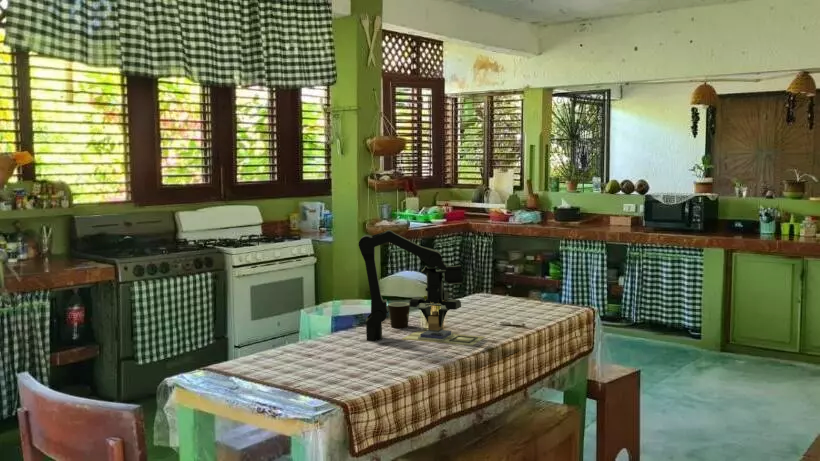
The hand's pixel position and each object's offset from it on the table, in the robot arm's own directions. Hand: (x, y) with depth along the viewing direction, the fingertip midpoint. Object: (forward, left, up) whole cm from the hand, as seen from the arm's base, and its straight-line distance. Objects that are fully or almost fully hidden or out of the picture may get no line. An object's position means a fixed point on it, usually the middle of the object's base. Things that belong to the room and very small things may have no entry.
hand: (435, 326), depth 281 cm
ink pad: (0, 0, -4) cm, 4 cm away
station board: (0, -3, -5) cm, 6 cm away
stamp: (0, 0, -2) cm, 2 cm away
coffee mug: (+13, +20, -5) cm, 25 cm away
